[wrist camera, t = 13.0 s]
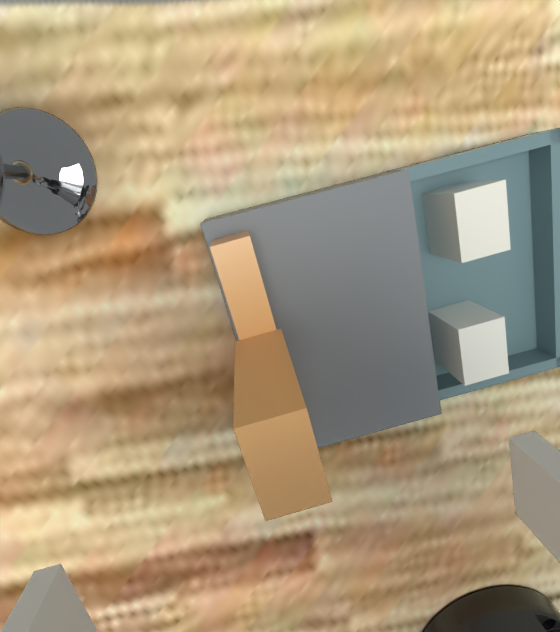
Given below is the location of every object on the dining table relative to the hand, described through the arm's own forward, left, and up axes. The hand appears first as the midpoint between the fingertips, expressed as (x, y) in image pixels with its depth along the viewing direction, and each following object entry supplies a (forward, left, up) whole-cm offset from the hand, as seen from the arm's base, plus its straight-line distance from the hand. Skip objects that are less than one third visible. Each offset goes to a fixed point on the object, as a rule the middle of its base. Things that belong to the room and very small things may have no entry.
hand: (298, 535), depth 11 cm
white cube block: (-4, -12, -15) cm, 19 cm away
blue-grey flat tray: (0, -15, -18) cm, 23 cm away
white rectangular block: (+5, -12, -15) cm, 20 cm away
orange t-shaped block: (0, 0, -14) cm, 14 cm away
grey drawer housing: (0, -4, -18) cm, 18 cm away
